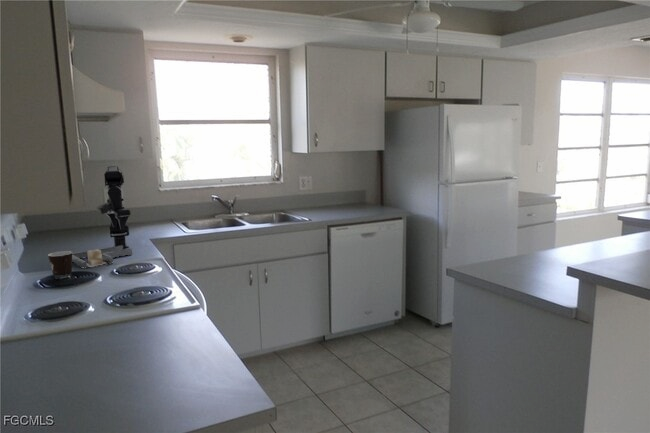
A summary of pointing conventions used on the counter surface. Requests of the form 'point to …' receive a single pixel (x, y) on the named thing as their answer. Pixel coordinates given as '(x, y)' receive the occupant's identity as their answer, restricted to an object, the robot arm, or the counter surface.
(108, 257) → the channel
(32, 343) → the counter surface
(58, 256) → the coffee mug
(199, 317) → the counter surface
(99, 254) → the maple block
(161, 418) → the counter surface
